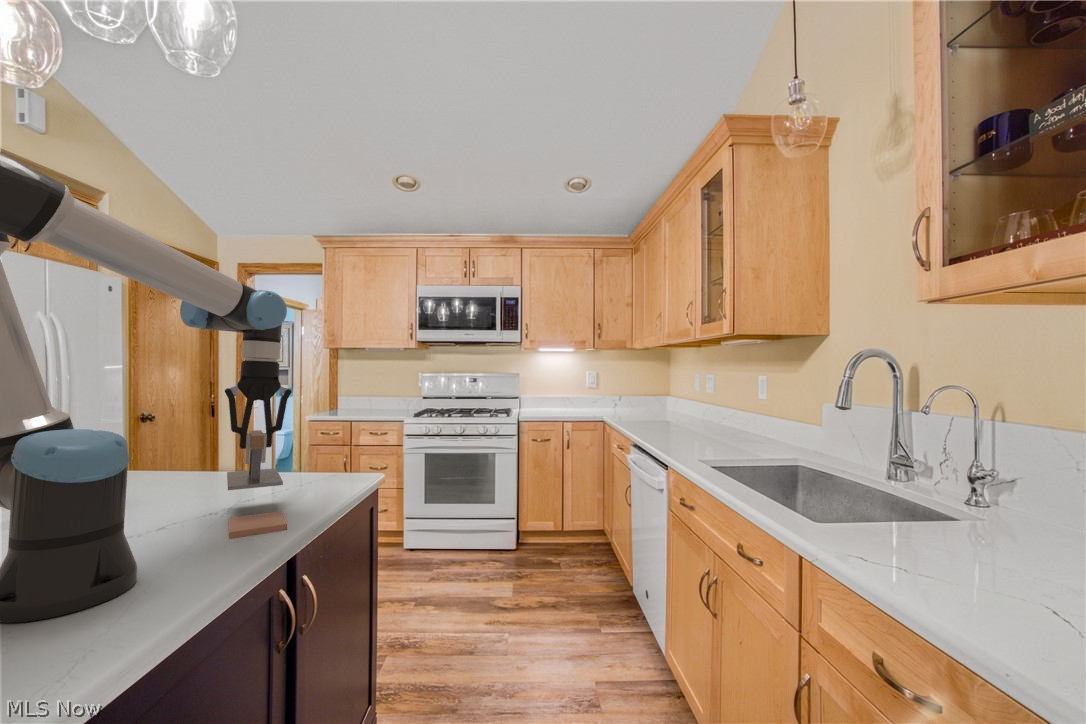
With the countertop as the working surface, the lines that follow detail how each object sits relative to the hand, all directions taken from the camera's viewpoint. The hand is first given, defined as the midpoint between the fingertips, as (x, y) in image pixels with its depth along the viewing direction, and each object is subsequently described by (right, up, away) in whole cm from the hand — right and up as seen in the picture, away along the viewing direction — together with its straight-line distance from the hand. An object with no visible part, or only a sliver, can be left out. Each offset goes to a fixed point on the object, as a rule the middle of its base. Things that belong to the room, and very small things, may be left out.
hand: (254, 462), depth 103 cm
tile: (+3, -12, -4) cm, 12 cm away
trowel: (0, -4, 0) cm, 4 cm away
